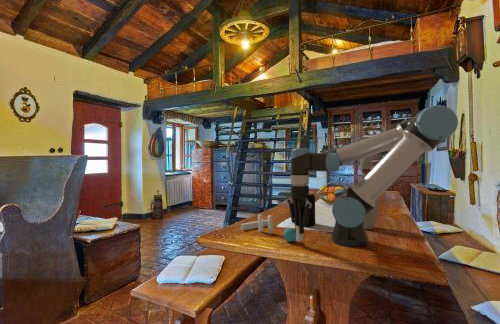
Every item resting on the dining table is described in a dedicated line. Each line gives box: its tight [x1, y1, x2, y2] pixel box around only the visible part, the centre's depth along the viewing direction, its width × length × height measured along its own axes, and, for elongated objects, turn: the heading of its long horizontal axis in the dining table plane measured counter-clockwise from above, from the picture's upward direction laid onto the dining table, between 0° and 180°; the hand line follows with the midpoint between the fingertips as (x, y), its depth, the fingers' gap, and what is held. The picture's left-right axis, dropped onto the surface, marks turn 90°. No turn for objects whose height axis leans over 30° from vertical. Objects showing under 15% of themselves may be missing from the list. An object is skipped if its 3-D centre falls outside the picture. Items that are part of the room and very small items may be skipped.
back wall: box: [240, 219, 268, 231], centre depth 140 cm, size 2×18×3 cm, turn 121°
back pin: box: [257, 213, 264, 233], centre depth 131 cm, size 2×2×9 cm
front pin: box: [267, 215, 274, 235], centre depth 128 cm, size 2×2×9 cm
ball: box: [283, 227, 296, 243], centre depth 116 cm, size 6×6×6 cm
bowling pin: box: [359, 156, 380, 230], centre depth 136 cm, size 11×12×38 cm
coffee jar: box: [304, 190, 316, 228], centre depth 144 cm, size 11×11×18 cm
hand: (299, 240), depth 110 cm, fingers closed
